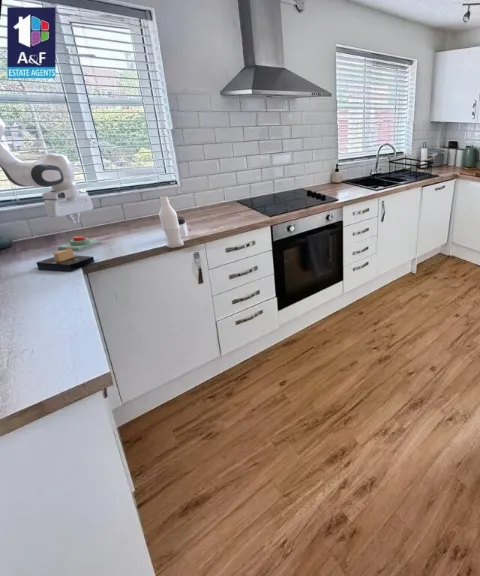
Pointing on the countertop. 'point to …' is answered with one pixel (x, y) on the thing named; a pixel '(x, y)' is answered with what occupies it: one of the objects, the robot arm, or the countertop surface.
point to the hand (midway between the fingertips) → (75, 223)
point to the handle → (63, 255)
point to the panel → (65, 263)
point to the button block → (78, 244)
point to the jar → (182, 227)
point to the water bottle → (170, 224)
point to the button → (78, 238)
